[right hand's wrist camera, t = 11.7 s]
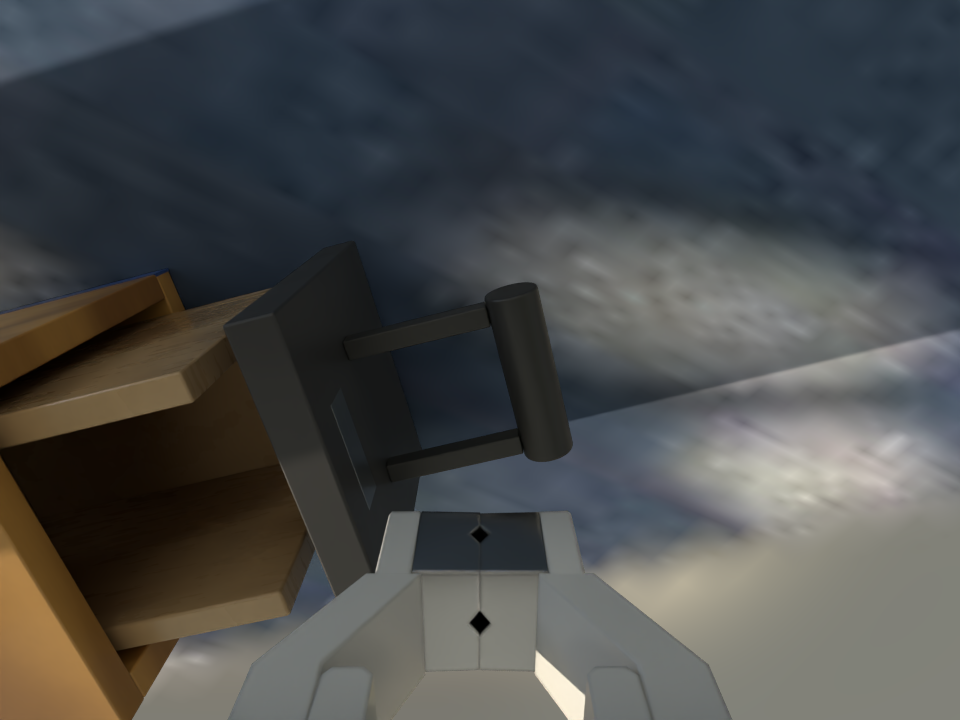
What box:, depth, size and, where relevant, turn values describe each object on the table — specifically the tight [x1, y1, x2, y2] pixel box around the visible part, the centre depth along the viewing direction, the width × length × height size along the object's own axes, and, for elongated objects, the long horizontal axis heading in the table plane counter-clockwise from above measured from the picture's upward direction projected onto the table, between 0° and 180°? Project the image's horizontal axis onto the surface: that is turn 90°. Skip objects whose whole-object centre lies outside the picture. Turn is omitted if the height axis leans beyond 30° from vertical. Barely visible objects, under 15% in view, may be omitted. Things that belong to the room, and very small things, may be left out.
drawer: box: [0, 241, 573, 651], centre depth 19 cm, size 22×9×9 cm, turn 104°
